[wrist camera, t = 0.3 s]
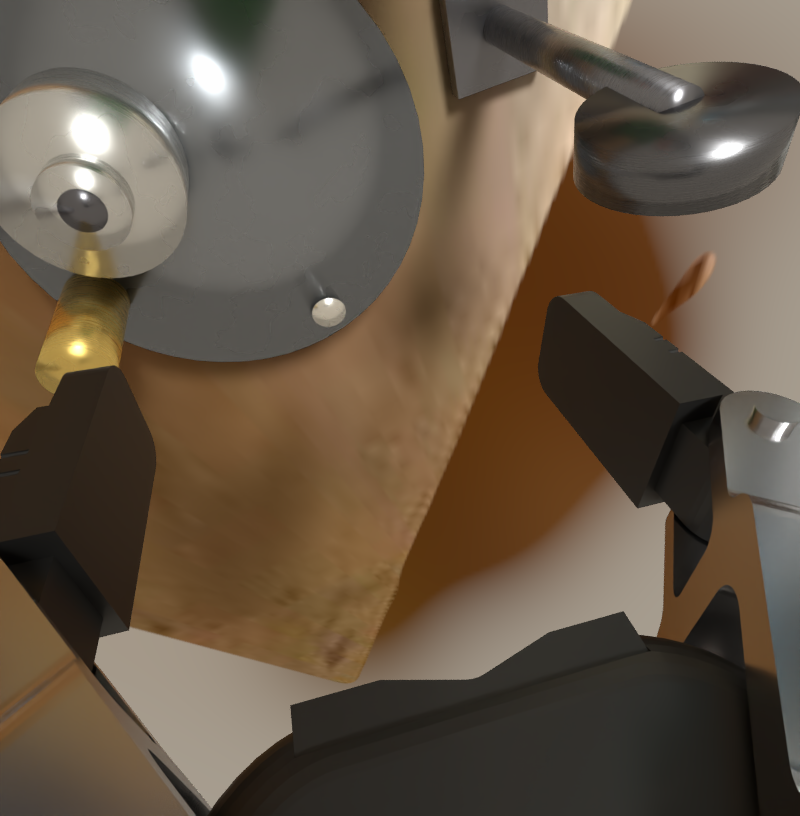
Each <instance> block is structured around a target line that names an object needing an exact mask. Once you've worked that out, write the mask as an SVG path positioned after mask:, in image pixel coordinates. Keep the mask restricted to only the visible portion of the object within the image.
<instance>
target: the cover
mask: <svg viewBox="0 0 800 816" xmlns="http://www.w3.org/2000/svg"><path fill="white" fill-rule="evenodd" d="M188 189H189V169H188V164H187V158H186V155H185V152H184V149H183V146H182V144H181V142H180V140H179V138H178V135H177V134H176V132H175V130H174V129H173V127H172V126H171V124H170V123H169V121H168V120H167V119H166V118H165V116H164V115H163V114H162V113H161V112H160V111H159V109H158V108H157V107H156V106H155V105H154V104H153V103H152V102H150V101H149V100H148V99H147V98H146V97H145V96H143V95H142V94H141V93H139V92H138V91H136V90H135V89H134V88H132V87H131V86H129V85H127V84H125V83H124V82H122V81H120V80H118V79H116V78H113V77H111V76H109V75H106V74H103V73H100V72H97V71H93V70H88V69H83V68H73V67H61V68H52V69H48V70H44V71H40V72H38V73H36V74H33V75H31V76H29V77H28V78H26V79H25V80H23V81H22V82H21V83H19V84H18V85H17V86H16V87H15V88H14V90H13V91H12V92H11V93H10V94H9V95H8V96H7V97H6V98H5V99H4V100H3V101H2V103H1V104H0V226H1V227H2V228H3V229H4V230H5V231H6V232H7V233H8V234H9V235H10V236H11V237H12V238H13V239H14V240H15V241H16V242H17V243H19V244H20V245H21V246H22V247H23V248H25V249H26V250H28V251H29V252H31V253H32V254H34V255H35V256H37V257H39V258H40V259H42V260H44V261H46V262H48V263H50V264H52V265H54V266H56V267H59V268H61V269H64V270H67V271H70V272H73V273H77V274H81V275H85V276H91V277H97V278H122V277H128V276H134V275H137V274H141V273H144V272H146V271H148V270H151V269H153V268H154V267H156V266H158V265H159V264H161V263H162V262H163V261H165V260H166V259H167V258H168V257H169V256H170V255H171V254H172V253H173V252H174V251H175V249H176V248H177V246H178V244H179V243H180V241H181V239H182V236H183V234H184V231H185V226H186V222H187V208H188Z"/></svg>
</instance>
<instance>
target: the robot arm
mask: <svg viewBox="0 0 800 816" xmlns="http://www.w3.org/2000/svg"><path fill="white" fill-rule="evenodd" d="M538 373H539V379H540V382H541V385H542V388H543V390H544V392H545V393H546V394H547V396H548V397H549V398H550V399H551V401H552V402H553V403H554V404H555V406H556V407H557V408H558V409H559V411H560V412H561V413H562V414H563V416H564V417H565V418H566V419H567V421H568V422H569V423H570V424H571V426H572V427H573V428H574V429H575V431H576V432H577V433H578V434H579V436H580V437H581V438H582V439H583V440H584V442H585V443H586V444H587V446H588V447H589V448H590V450H591V451H592V452H593V453H594V455H595V456H596V457H597V458H598V460H599V461H600V462H601V463H602V465H603V466H604V467H605V468H606V469H607V471H608V472H609V473H610V475H611V476H612V477H613V478H614V480H615V481H616V482H617V483H618V485H619V486H620V487H621V488H622V489H623V491H624V492H625V493H626V495H627V496H628V497H629V498H630V499H631V501H632V502H633V503H634V505H635V506H636V507H637V508H641V507H645V506H649V505H653V504H657V503H661V502H665V503H666V504H667V505H668V506H669V507H670V509H671V510H670V512H669V514H668V516H667V518H666V522H665V554H664V556H665V557H664V595H663V613H662V619H661V624H660V627H659V630H658V633H657V637H652V636H644V635H638V633H637V632H636V630H635V628H634V627H633V626H632V624H631V622H630V621H629V619H628V618H627V616H626V614H625V613H624V612H619V613H616V614H612V615H609V616H605V617H602V618H598V619H595V620H591V621H588V622H584V623H581V624H577V625H574V626H570V627H566V628H563V629H559V630H556V631H552V632H549V633H547V634H546V635H544V636H543V637H541V638H540V639H538V640H536V641H535V642H533V643H532V644H530V645H529V646H527V647H526V648H524V649H523V650H521V651H519V652H518V653H516V654H515V655H513V656H512V657H510V658H509V659H507V660H506V661H504V662H503V663H501V664H500V665H498V666H496V667H495V668H493V669H492V670H490V671H489V672H487V673H485V674H484V675H482V676H480V677H478V678H475V679H469V680H379V681H375V682H372V683H368V684H365V685H361V686H358V687H354V688H351V689H347V690H343V691H340V692H337V693H333V694H329V695H326V696H322V697H319V698H315V699H312V700H308V701H304V702H301V703H298V704H294V705H291V718H292V731H293V732H292V733H291V734H289V735H288V736H286V737H284V738H283V739H281V740H280V741H278V742H277V743H275V744H274V745H273V746H271V747H270V748H269V749H268V750H266V751H265V752H264V753H263V754H261V755H260V756H259V757H257V758H256V759H255V760H254V761H253V762H252V763H251V764H250V765H249V766H248V767H247V768H246V769H245V770H244V771H243V772H242V773H241V774H240V775H239V776H238V777H237V778H236V779H235V780H234V781H233V783H232V784H231V785H230V786H229V788H228V789H227V790H226V791H225V792H224V793H223V795H222V796H221V797H220V798H219V799H218V801H217V802H216V804H215V805H214V806H213V808H211V807H210V806H209V804H208V803H207V802H206V801H205V799H204V798H203V797H202V795H201V794H200V793H199V792H198V791H197V789H196V788H195V787H194V786H193V784H192V783H191V782H190V781H189V780H188V778H187V777H186V776H185V775H184V774H183V773H182V771H181V770H180V769H179V768H178V767H177V766H176V764H175V763H174V762H173V761H172V760H171V759H170V757H169V756H168V755H167V753H166V752H165V751H164V750H163V748H162V747H161V746H160V745H159V743H158V742H157V741H156V740H155V738H154V737H153V736H152V734H151V733H150V732H149V731H148V729H147V728H146V727H145V726H144V724H143V723H142V722H141V720H140V719H139V718H138V716H137V715H136V714H135V713H134V711H133V710H132V709H131V708H130V706H129V705H128V704H127V703H126V701H125V700H124V699H123V697H122V696H121V695H120V693H119V692H118V691H117V690H116V688H115V687H114V686H113V685H112V683H111V682H110V681H109V679H108V678H107V677H106V676H105V674H104V673H103V672H102V671H101V669H100V668H99V667H98V666H97V665H96V663H95V662H94V660H95V655H96V650H97V646H98V640H99V637H103V636H107V635H111V634H115V633H120V632H124V631H127V630H129V626H130V620H131V614H132V608H133V602H134V596H135V590H136V584H137V578H138V572H139V566H140V560H141V554H142V548H143V541H144V535H145V529H146V523H147V517H148V511H149V505H150V499H151V493H152V487H153V481H154V475H155V469H156V452H155V446H154V442H153V438H152V435H151V433H150V430H149V428H148V426H147V424H146V422H145V420H144V417H143V415H142V413H141V411H140V409H139V407H138V404H137V402H136V400H135V398H134V396H133V394H132V391H131V389H130V387H129V385H128V383H127V381H126V378H125V376H124V375H123V373H122V371H121V370H120V369H119V368H118V367H117V366H115V365H112V366H105V367H99V368H93V369H86V370H80V371H74V372H67V373H65V374H64V375H63V376H62V378H61V380H60V383H59V385H58V387H57V389H56V392H55V394H54V396H53V398H52V400H51V403H50V405H49V406H44V407H38V408H36V409H35V410H34V411H33V412H32V413H31V414H30V415H29V416H28V417H26V418H25V419H24V420H23V421H22V422H21V423H20V424H19V425H18V426H17V427H16V428H15V429H14V430H13V431H12V433H11V435H10V437H9V439H8V440H7V442H6V444H5V446H4V448H3V450H2V452H1V454H0V455H1V459H0V816H800V403H798V402H796V401H794V400H791V399H789V398H786V397H783V396H780V395H777V394H772V393H767V392H761V391H739V392H735V393H734V392H733V391H732V390H730V389H729V388H728V387H727V386H725V385H724V384H723V383H721V382H720V381H719V380H718V379H716V378H715V377H714V376H713V375H711V374H710V373H709V372H707V371H706V370H705V369H704V368H702V367H701V366H700V365H698V364H697V363H696V362H695V361H693V360H692V359H691V358H689V357H688V356H687V355H685V354H684V353H683V352H678V348H677V347H675V346H674V345H673V344H671V343H670V342H669V341H667V340H663V337H662V336H661V335H660V334H659V333H657V332H656V331H655V330H654V329H652V328H651V327H650V326H648V325H647V324H646V323H645V322H642V321H640V320H637V319H635V318H633V317H631V316H628V315H626V314H624V313H621V312H619V311H618V310H617V309H616V308H614V307H613V306H612V305H611V304H609V303H608V302H607V301H606V300H604V299H603V298H602V297H601V296H599V295H598V294H597V293H595V292H592V291H588V292H582V293H576V294H569V295H563V296H557V297H554V298H553V299H552V300H551V301H550V303H549V306H548V309H547V315H546V321H545V327H544V333H543V339H542V344H541V351H540V357H539V363H538Z"/></svg>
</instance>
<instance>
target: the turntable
mask: <svg viewBox="0 0 800 816" xmlns="http://www.w3.org/2000/svg"><path fill="white" fill-rule="evenodd" d="M61 67H73V68H83V69H88V70H93V71H97V72H100V73H103V74H106V75H109V76H111V77H113V78H116V79H118V80H120V81H122V82H124V83H125V84H127V85H129V86H131V87H132V88H134V89H135V90H136V91H138V92H139V93H141V94H142V95H143V96H145V97H146V98H147V99H148V100H149V101H150V102H152V103H153V104H154V105H155V106H156V107H157V108H158V109H159V111H160V112H161V113H162V114H163V115H164V116H165V118H166V119H167V120H168V121H169V123H170V124H171V126H172V127H173V129H174V130H175V132H176V134H177V135H178V138H179V140H180V142H181V144H182V146H183V149H184V152H185V155H186V158H187V164H188V169H189V189H188V208H187V222H186V226H185V231H184V234H183V236H182V239H181V241H180V243H179V244H178V246H177V248H176V249H175V251H174V252H173V253H172V254H171V255H170V256H169V257H168V258H167V259H166V260H165V261H163V262H162V263H161V264H159V265H158V266H156V267H154V268H153V269H151V270H148V271H146V272H144V273H141V274H137V275H134V276H128V277H122V278H97V277H91V276H85V275H81V274H77V273H73V272H70V271H67V270H64V269H61V268H59V267H56V266H54V265H52V264H50V263H48V262H46V261H44V260H42V259H40V258H39V257H37V256H35V255H34V254H32V253H31V252H29V251H28V250H26V249H25V248H23V247H22V246H21V245H20V244H19V243H17V242H16V241H15V240H14V239H13V238H12V237H11V236H10V235H9V234H8V233H7V232H6V231H5V230H4V229H3V228H2V227H1V226H0V242H1V243H2V244H3V246H4V247H5V249H6V250H7V251H8V253H9V254H10V255H11V256H12V257H13V259H14V260H15V261H16V262H17V263H18V264H19V265H20V266H21V267H22V269H23V270H24V271H25V272H26V273H27V274H28V275H29V276H30V277H31V278H32V279H33V280H34V281H35V282H36V283H37V284H38V285H39V286H41V287H42V288H43V289H44V290H45V291H46V292H47V293H48V294H49V295H50V296H52V297H53V298H54V299H55V300H57V301H58V303H57V306H56V309H55V312H54V315H53V317H52V320H51V323H50V326H49V329H48V332H47V334H46V337H45V340H44V343H43V346H42V349H41V352H40V354H39V357H38V360H37V363H36V366H35V374H36V377H37V379H38V381H39V382H40V384H41V385H42V386H43V387H44V388H45V389H47V390H48V391H49V392H51V393H53V394H55V392H56V389H57V387H58V385H59V383H60V380H61V378H62V376H63V375H64V374H65V373H67V372H74V371H80V370H86V369H93V368H99V367H105V366H112V365H115V366H117V367H118V368H119V364H120V359H121V353H122V348H123V342H124V341H126V342H129V343H131V344H134V345H137V346H140V347H142V348H145V349H148V350H151V351H155V352H158V353H162V354H166V355H170V356H174V357H180V358H186V359H192V360H198V361H213V362H241V361H251V360H259V359H266V358H271V357H275V356H279V355H284V354H288V353H291V352H293V351H296V350H299V349H302V348H305V347H308V346H310V345H312V344H314V343H316V342H319V341H321V340H323V339H325V338H327V337H328V336H330V335H332V334H333V333H335V332H337V331H338V330H340V329H342V328H343V327H345V326H346V325H347V324H349V323H350V322H351V321H352V320H354V319H355V318H356V317H358V316H359V315H360V314H361V313H362V312H363V311H364V310H365V309H366V308H367V307H368V306H369V305H371V304H372V303H373V302H374V301H375V300H376V298H377V297H378V296H379V295H380V293H381V292H382V291H383V290H384V288H385V287H386V286H387V285H388V284H389V282H390V280H391V279H392V277H393V276H394V274H395V273H396V271H397V269H398V268H399V266H400V264H401V262H402V260H403V258H404V256H405V254H406V252H407V250H408V248H409V246H410V243H411V240H412V237H413V234H414V231H415V228H416V225H417V221H418V216H419V211H420V206H421V202H422V193H423V180H424V160H423V144H422V138H421V132H420V126H419V120H418V115H417V112H416V109H415V105H414V102H413V99H412V95H411V92H410V88H409V86H408V84H407V81H406V79H405V77H404V74H403V72H402V70H401V68H400V65H399V63H398V61H397V58H396V57H395V55H394V53H393V51H392V50H391V48H390V46H389V45H388V43H387V41H386V40H385V38H384V36H383V34H382V33H381V31H380V29H379V28H378V27H377V25H376V24H375V23H374V21H373V20H372V19H371V17H370V16H369V15H368V14H367V12H366V11H365V10H364V8H363V7H362V6H361V4H360V3H359V2H358V1H357V0H0V104H1V103H2V101H3V100H4V99H5V98H6V97H7V96H8V95H9V94H10V93H11V92H12V91H13V90H14V88H15V87H16V86H17V85H18V84H19V83H21V82H22V81H23V80H25V79H26V78H28V77H29V76H31V75H33V74H36V73H38V72H40V71H44V70H48V69H52V68H61Z"/></svg>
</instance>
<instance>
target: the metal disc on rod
mask: <svg viewBox="0 0 800 816" xmlns="http://www.w3.org/2000/svg"><path fill="white" fill-rule="evenodd" d="M439 4H440V11H441V18H442V25H443V32H444V39H445V46H446V53H447V60H448V67H449V74H450V81H451V88H452V94H453V95H454V96H455V97H456V98H458V99H461V98H464V97H466V96H469V95H472V94H474V93H477V92H480V91H483V90H485V89H488V88H491V87H493V86H496V85H499V84H501V83H504V82H507V81H510V80H512V79H515V78H518V77H520V76H523V75H526V74H529V73H531V72H534V71H538V72H540V73H542V74H543V75H545V76H547V77H549V78H550V79H552V80H554V81H556V82H557V83H559V84H561V85H563V86H564V87H566V88H568V89H570V90H571V91H573V92H575V93H577V94H578V95H580V96H582V97H583V98H585V99H587V100H586V101H584V102H583V104H582V105H581V106H580V107H579V109H578V111H577V112H576V115H575V125H574V171H573V175H574V182H575V185H576V187H577V189H578V190H579V191H580V192H581V193H582V194H583V195H584V196H585V197H586V198H588V199H589V200H590V201H592V202H594V203H596V204H598V205H600V206H603V207H605V208H608V209H611V210H615V211H619V212H623V213H629V214H635V215H646V216H679V215H689V214H697V213H702V212H708V211H712V210H717V209H720V208H724V207H727V206H731V205H734V204H737V203H739V202H741V201H743V200H746V199H749V198H750V197H752V196H754V195H756V194H758V193H760V192H761V191H762V190H764V189H765V188H767V187H768V186H769V185H770V184H771V183H772V182H773V181H774V180H775V179H776V178H777V177H778V175H779V174H780V172H781V170H782V167H783V164H784V161H785V158H786V155H787V152H788V149H789V146H790V143H791V140H792V137H793V134H794V131H795V128H796V125H797V122H798V119H799V116H800V83H799V82H798V81H797V80H796V79H795V78H793V77H792V76H790V75H788V74H786V73H784V72H782V71H779V70H777V69H773V68H769V67H766V66H761V65H756V64H748V63H739V62H701V63H690V64H682V65H674V66H669V67H664V68H659V69H657V68H654V67H652V66H649V65H647V64H645V63H642V62H640V61H637V60H635V59H632V58H630V57H628V56H625V55H623V54H621V53H618V52H616V51H613V50H611V49H609V48H606V47H604V46H601V45H599V44H597V43H594V42H592V41H589V40H587V39H585V38H582V37H580V36H577V35H575V34H572V33H570V32H568V31H565V30H563V29H560V28H558V27H556V26H553V25H551V24H548V8H547V0H439Z"/></svg>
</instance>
